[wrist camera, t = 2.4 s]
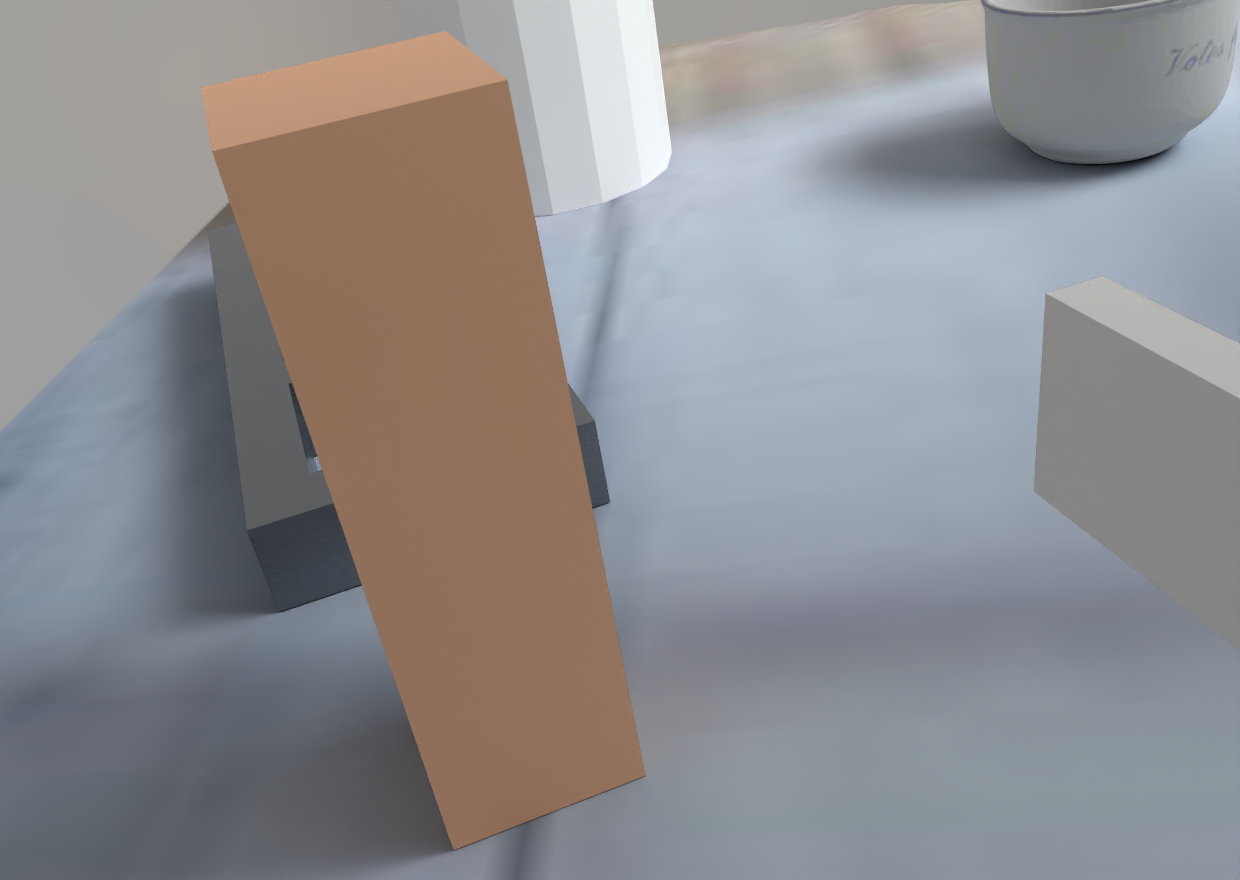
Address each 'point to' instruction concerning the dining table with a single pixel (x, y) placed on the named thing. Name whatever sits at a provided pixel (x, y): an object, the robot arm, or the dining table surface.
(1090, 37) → the teacup
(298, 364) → the post
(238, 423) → the rail
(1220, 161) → the dining table surface
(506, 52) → the container
